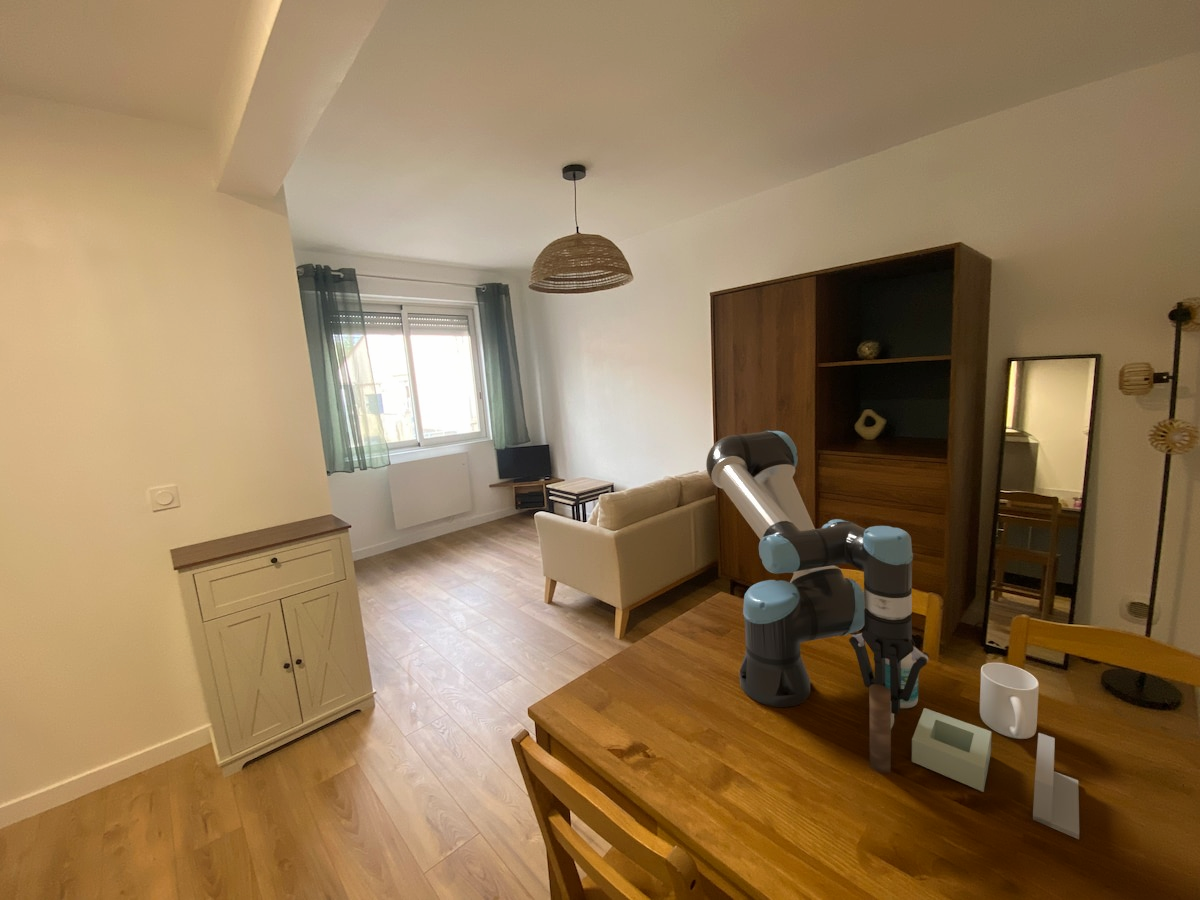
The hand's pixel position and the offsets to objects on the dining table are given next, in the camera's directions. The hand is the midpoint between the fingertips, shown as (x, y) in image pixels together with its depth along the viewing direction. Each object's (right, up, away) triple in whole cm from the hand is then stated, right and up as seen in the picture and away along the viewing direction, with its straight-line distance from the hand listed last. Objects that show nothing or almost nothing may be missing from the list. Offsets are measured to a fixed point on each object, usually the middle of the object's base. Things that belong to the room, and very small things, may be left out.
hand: (887, 724), depth 91 cm
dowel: (-5, -3, -7) cm, 9 cm away
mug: (+22, 0, -2) cm, 22 cm away
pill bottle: (+8, 0, +10) cm, 12 cm away
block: (+7, -2, -7) cm, 10 cm away
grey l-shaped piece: (+17, -3, -16) cm, 23 cm away
